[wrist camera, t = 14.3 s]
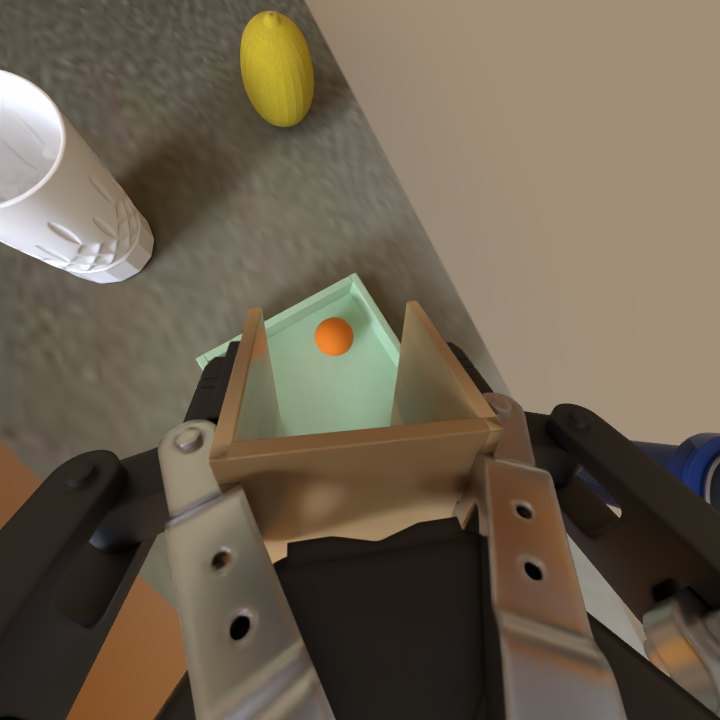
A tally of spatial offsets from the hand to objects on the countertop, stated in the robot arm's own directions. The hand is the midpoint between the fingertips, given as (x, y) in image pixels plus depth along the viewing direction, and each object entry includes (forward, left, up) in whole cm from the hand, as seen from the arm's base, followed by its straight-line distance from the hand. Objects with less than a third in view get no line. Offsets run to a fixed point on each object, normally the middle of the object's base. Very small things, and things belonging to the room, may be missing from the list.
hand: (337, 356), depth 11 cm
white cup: (+9, -18, -14) cm, 25 cm away
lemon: (-9, -22, -14) cm, 28 cm away
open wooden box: (+3, +6, -3) cm, 7 cm away
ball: (-2, -3, -12) cm, 13 cm away
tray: (0, +1, -14) cm, 14 cm away
